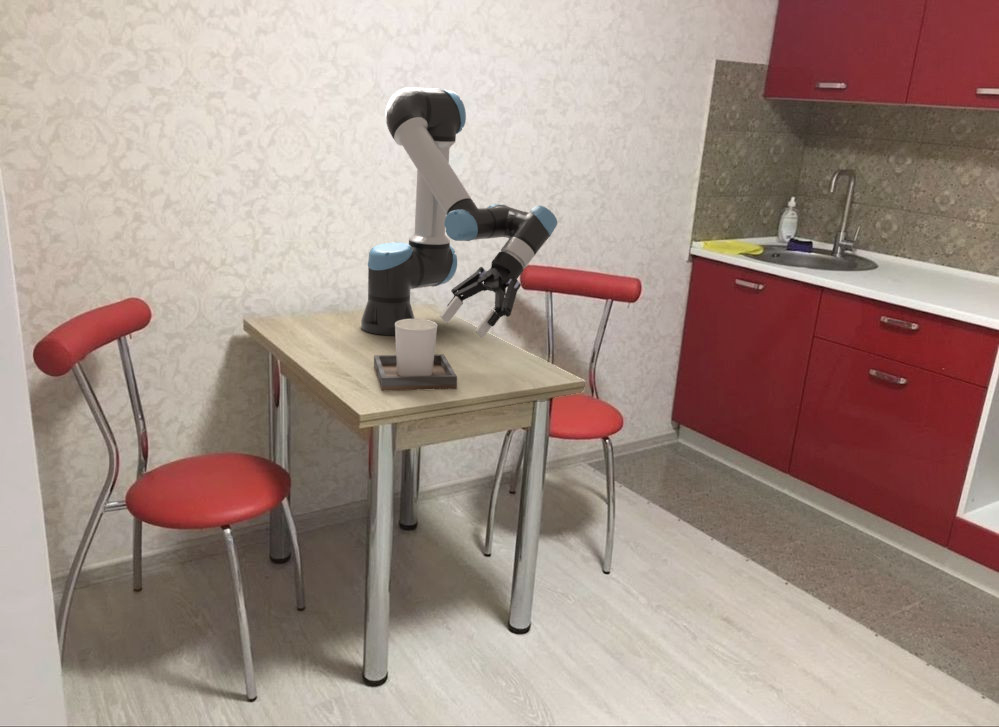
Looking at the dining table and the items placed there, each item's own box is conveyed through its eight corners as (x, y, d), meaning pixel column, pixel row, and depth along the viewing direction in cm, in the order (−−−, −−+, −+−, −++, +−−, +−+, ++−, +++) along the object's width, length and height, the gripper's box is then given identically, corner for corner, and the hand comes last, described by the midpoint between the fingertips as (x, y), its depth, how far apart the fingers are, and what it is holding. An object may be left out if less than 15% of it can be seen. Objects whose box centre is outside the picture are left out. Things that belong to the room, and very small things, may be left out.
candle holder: (397, 380, 195) (398, 330, 191) (390, 367, 204) (391, 318, 200) (439, 379, 197) (441, 329, 194) (431, 366, 206) (433, 318, 203)
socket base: (373, 366, 206) (374, 355, 206) (443, 365, 211) (443, 354, 210) (381, 390, 191) (381, 378, 190) (456, 388, 195) (457, 376, 194)
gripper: (554, 280, 204) (502, 350, 199) (486, 259, 221) (437, 323, 217) (540, 260, 199) (486, 331, 194) (472, 241, 216) (421, 305, 211)
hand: (460, 327), depth 205 cm, fingers open, 13 cm apart
